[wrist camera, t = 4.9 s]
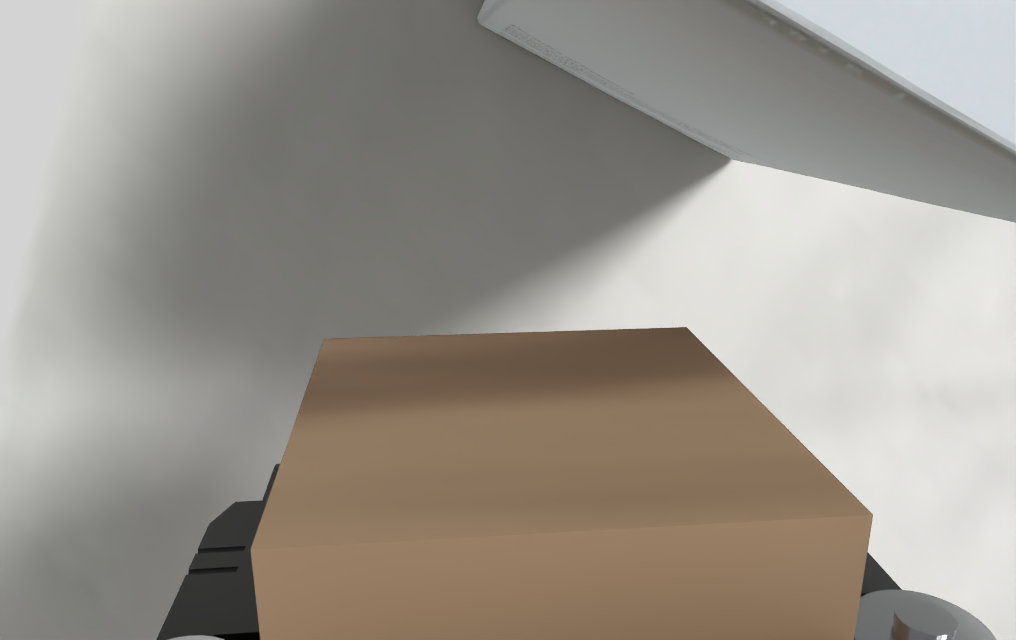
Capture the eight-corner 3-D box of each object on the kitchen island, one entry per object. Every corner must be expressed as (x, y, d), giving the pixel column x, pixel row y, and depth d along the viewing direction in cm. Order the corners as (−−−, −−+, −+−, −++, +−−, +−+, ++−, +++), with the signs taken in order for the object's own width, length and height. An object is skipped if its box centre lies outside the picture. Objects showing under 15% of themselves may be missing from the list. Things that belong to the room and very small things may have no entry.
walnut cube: (324, 339, 11) (250, 550, 6) (686, 327, 11) (873, 514, 7) (345, 648, 13) (300, 1006, 8) (665, 626, 13) (805, 951, 8)
